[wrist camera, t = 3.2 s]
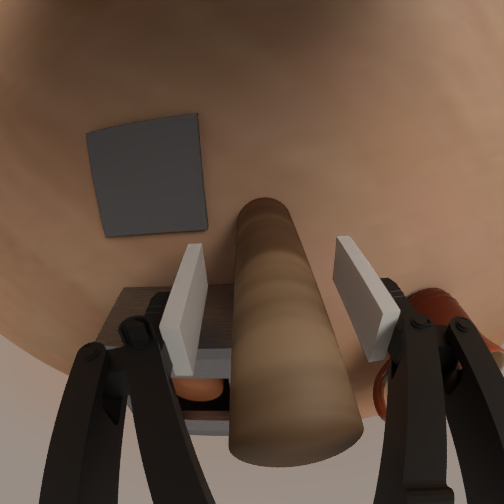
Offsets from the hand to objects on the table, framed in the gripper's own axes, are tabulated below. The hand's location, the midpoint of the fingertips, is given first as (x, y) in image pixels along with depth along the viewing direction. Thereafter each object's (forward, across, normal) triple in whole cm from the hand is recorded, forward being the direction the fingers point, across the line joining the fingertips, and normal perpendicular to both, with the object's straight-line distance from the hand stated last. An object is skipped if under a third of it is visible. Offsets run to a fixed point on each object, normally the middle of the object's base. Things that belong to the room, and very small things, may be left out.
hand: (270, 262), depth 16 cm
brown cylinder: (+6, 0, 0) cm, 6 cm away
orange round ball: (+3, -6, -11) cm, 13 cm away
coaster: (+6, -8, +4) cm, 11 cm away
